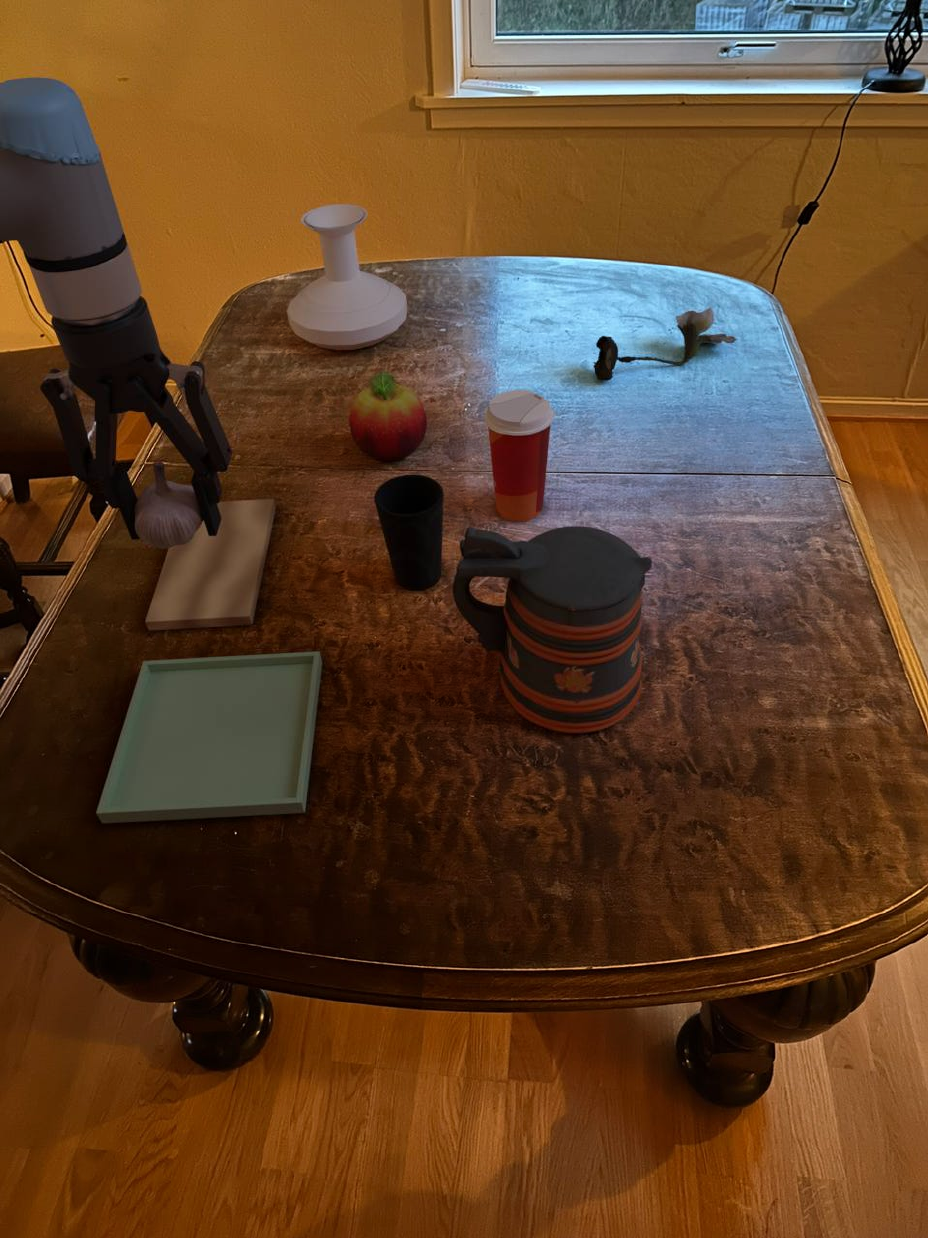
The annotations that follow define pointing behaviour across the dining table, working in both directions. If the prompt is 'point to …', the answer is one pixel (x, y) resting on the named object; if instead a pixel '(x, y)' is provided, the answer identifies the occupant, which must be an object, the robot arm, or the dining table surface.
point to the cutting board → (215, 571)
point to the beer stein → (560, 622)
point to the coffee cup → (519, 451)
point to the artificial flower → (689, 327)
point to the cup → (412, 528)
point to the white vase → (344, 289)
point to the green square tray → (215, 739)
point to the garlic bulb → (167, 512)
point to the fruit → (387, 420)
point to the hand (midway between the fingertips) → (177, 528)
